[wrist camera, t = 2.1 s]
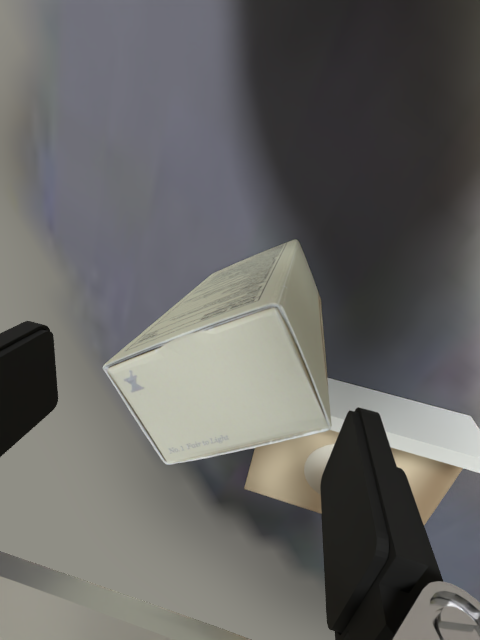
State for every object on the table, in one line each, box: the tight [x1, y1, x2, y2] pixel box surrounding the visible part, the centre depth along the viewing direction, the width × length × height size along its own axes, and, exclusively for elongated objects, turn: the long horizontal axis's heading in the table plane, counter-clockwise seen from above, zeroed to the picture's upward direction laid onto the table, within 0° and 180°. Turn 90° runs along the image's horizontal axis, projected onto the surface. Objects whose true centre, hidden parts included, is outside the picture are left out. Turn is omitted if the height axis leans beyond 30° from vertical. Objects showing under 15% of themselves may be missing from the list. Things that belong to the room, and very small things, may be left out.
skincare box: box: [103, 239, 332, 465], centre depth 15 cm, size 6×4×12 cm
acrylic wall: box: [327, 378, 480, 473], centre depth 21 cm, size 20×1×4 cm, turn 80°
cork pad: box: [244, 430, 463, 525], centre depth 24 cm, size 14×10×1 cm
